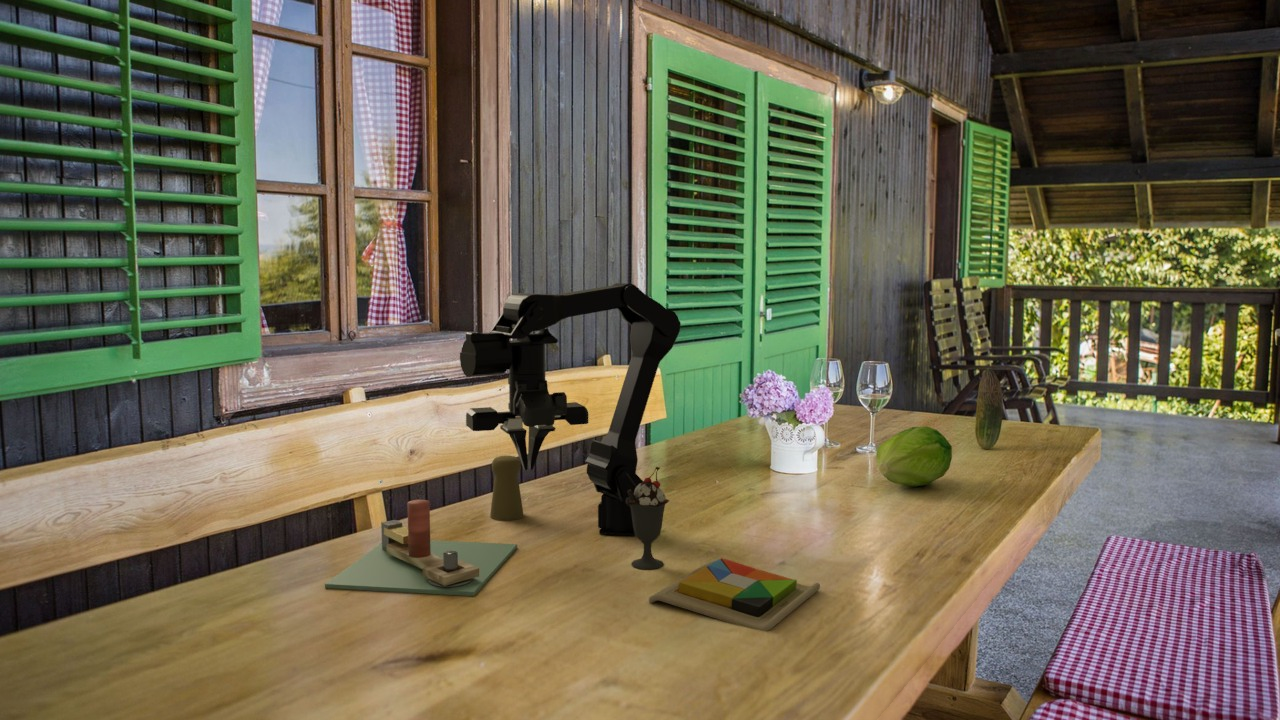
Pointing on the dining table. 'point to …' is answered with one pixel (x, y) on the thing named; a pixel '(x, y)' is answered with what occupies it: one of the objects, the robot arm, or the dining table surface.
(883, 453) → the green oval lump
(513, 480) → the cork
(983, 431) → the vegetable
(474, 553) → the latch board
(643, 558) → the sundae
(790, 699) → the dining table surface
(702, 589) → the wooden puzzle
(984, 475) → the dining table surface
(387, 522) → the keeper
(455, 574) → the latch bar
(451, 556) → the pintle
